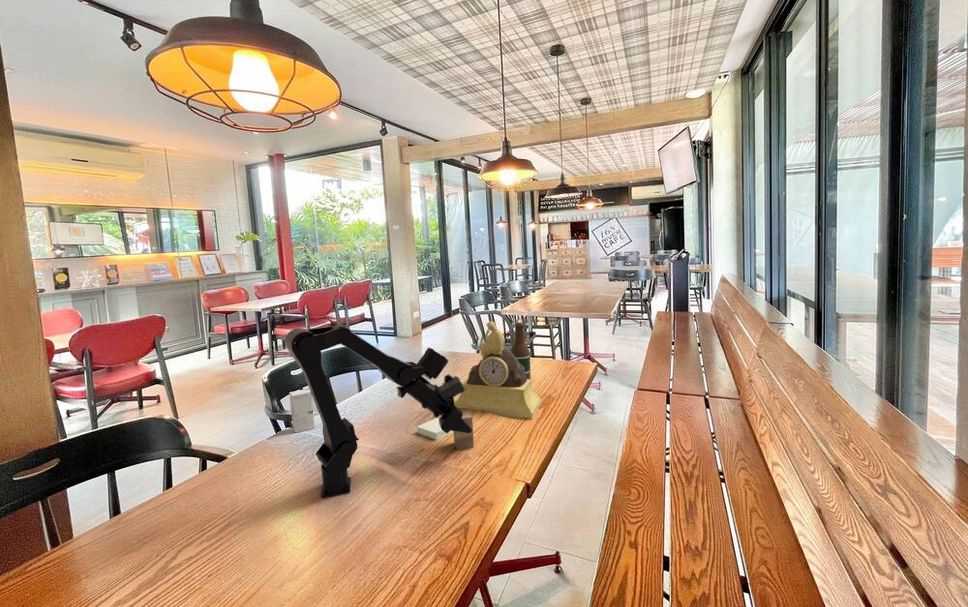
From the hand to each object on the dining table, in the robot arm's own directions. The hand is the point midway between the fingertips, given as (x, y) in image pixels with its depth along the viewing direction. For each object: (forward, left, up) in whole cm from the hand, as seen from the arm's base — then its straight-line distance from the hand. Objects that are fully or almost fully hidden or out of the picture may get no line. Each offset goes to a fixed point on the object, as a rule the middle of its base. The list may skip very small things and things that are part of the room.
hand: (467, 426), depth 117 cm
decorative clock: (+26, -16, -7) cm, 31 cm away
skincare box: (+32, +46, -7) cm, 57 cm away
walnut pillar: (0, +1, -7) cm, 7 cm away
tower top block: (+11, +7, -5) cm, 14 cm away
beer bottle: (+48, -34, -7) cm, 59 cm away
